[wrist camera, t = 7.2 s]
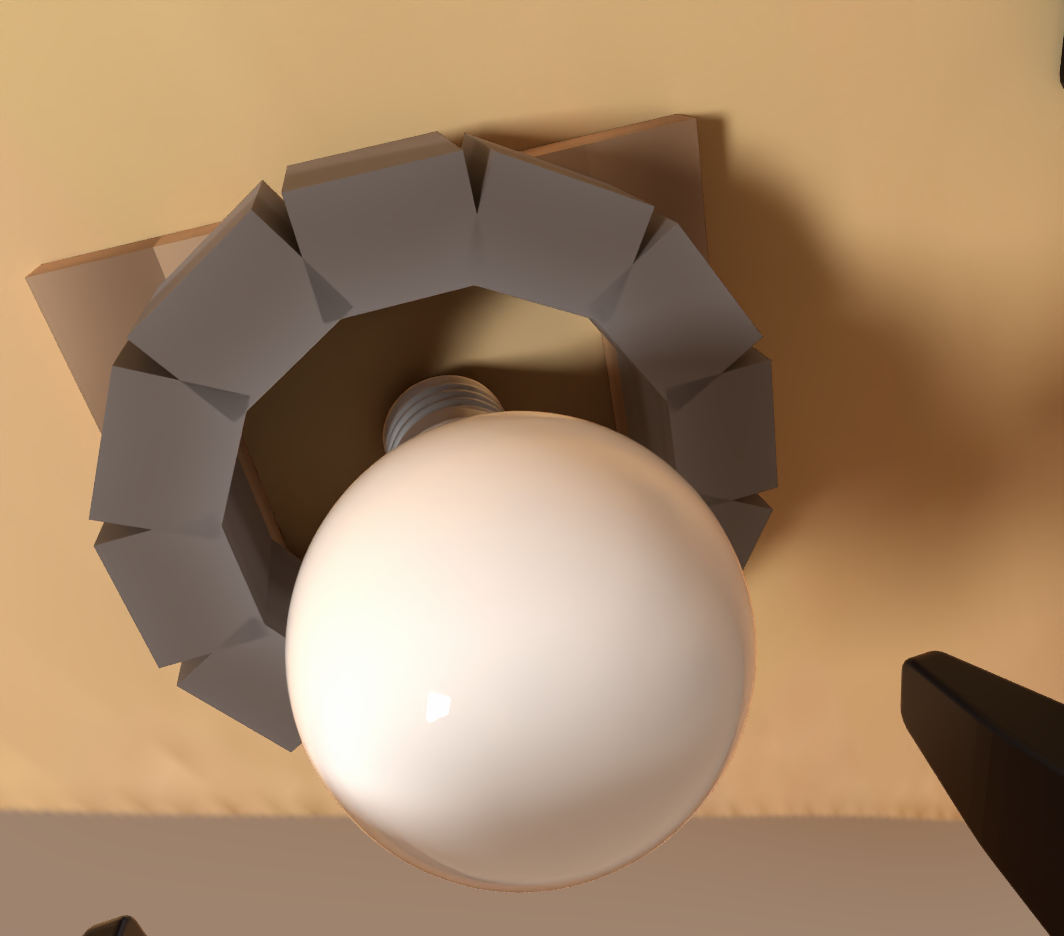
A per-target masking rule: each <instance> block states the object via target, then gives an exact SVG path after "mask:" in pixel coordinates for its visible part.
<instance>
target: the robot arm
mask: <svg viewBox="0 0 1064 936" xmlns="http://www.w3.org/2000/svg"><path fill="white" fill-rule="evenodd" d="M1060 83H1061V84H1062V86H1063V88H1064V38H1063V47H1062V56H1061V66H1060ZM901 714H902V718H903V721H904V724H905V726H906V728H907V730H908V731H909V733H910V735H911V736H912V738H913V739H914V741H915V743H916V744H917V746H918V747H919V749H920V751H921V752H922V754H923V755H924V757H925V759H926V760H927V762H928V763H929V765H930V767H931V768H932V770H933V771H934V773H935V775H936V776H937V778H938V779H939V781H940V782H941V784H942V786H943V787H944V789H945V790H946V792H947V794H948V795H949V797H950V798H951V800H952V802H953V803H954V805H955V806H956V808H957V810H958V811H959V813H960V814H961V816H962V818H963V819H964V821H965V822H966V824H967V826H968V827H969V829H970V830H971V832H972V833H973V835H974V836H975V838H976V839H977V841H978V842H979V844H980V845H981V846H982V848H983V849H984V851H985V852H986V853H987V855H988V856H989V857H990V859H991V860H992V861H993V863H994V864H995V865H996V867H997V868H998V869H999V870H1000V872H1001V873H1002V874H1003V876H1004V877H1005V878H1006V879H1007V881H1008V882H1009V883H1010V885H1011V886H1012V887H1013V889H1014V890H1015V891H1016V892H1017V894H1018V895H1019V896H1020V898H1021V899H1022V900H1023V902H1024V903H1025V904H1026V905H1027V906H1028V908H1029V909H1030V911H1031V912H1032V913H1033V914H1034V916H1035V917H1036V918H1037V920H1038V921H1039V922H1040V923H1041V925H1042V926H1043V927H1044V929H1045V930H1046V931H1047V932H1048V933H1049V935H1050V936H1064V704H1063V703H1060V702H1058V701H1056V700H1053V699H1051V698H1049V697H1046V696H1044V695H1042V694H1039V693H1037V692H1035V691H1032V690H1030V689H1028V688H1025V687H1023V686H1021V685H1018V684H1016V683H1014V682H1012V681H1009V680H1007V679H1005V678H1002V677H1000V676H998V675H995V674H993V673H991V672H988V671H986V670H984V669H981V668H979V667H977V666H974V665H972V664H970V663H967V662H965V661H963V660H960V659H958V658H956V657H954V656H951V655H949V654H947V653H944V652H940V651H930V652H927V653H924V654H921V655H918V656H915V657H911V658H909V659H907V660H905V662H904V664H903V665H902V677H901ZM82 936H147V935H146V934H145V933H144V931H143V930H142V928H141V927H140V925H139V924H138V922H137V921H136V920H135V919H134V918H133V917H131V916H128V915H125V916H120V917H117V918H114V919H111V920H108V921H105V922H102V923H99V924H96V925H94V926H92V927H91V928H89V929H88V930H87V931H86V932H85V933H84V934H83V935H82Z"/></svg>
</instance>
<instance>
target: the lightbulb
mask: <svg viewBox="0 0 1064 936" xmlns="http://www.w3.org/2000/svg"><path fill="white" fill-rule="evenodd" d="M383 444H384V450H385V455H384V456H383V457H381V458H380V459H379V460H377V461H376V462H375V463H374V464H372V465H371V466H370V467H369V468H368V469H367V470H366V471H364V472H363V473H362V474H361V475H360V476H359V477H358V478H357V479H356V480H355V481H354V482H353V483H352V484H351V485H350V486H349V487H348V489H347V490H346V491H345V492H344V493H343V494H342V495H341V497H340V498H339V499H338V500H337V502H336V503H335V504H334V506H333V507H332V508H331V510H330V511H329V512H328V514H327V515H326V517H325V519H324V520H323V522H322V523H321V525H320V527H319V528H318V530H317V532H316V534H315V535H314V537H313V539H312V541H311V543H310V545H309V547H308V549H307V552H306V554H305V556H304V558H303V561H302V564H301V566H300V569H299V572H298V575H297V578H296V581H295V584H294V588H293V592H292V596H291V600H290V606H289V611H288V617H287V625H286V637H285V670H286V681H287V688H288V695H289V700H290V705H291V709H292V713H293V717H294V720H295V724H296V727H297V730H298V733H299V736H300V738H301V741H302V743H303V746H304V748H305V751H306V753H307V755H308V757H309V759H310V761H311V763H312V765H313V767H314V769H315V771H316V772H317V774H318V776H319V778H320V779H321V781H322V782H323V784H324V786H325V787H326V789H327V790H328V791H329V793H330V794H331V796H332V797H333V798H334V800H335V801H336V802H337V804H338V805H339V806H340V807H341V808H342V810H343V811H344V812H345V813H346V814H347V815H348V817H349V818H350V819H351V820H352V821H353V822H354V823H355V824H356V825H357V826H358V827H359V828H360V829H361V830H362V831H363V832H365V833H366V834H367V835H368V836H369V837H370V838H372V839H373V840H374V841H375V842H376V843H378V844H379V845H380V846H382V847H383V848H385V849H386V850H387V851H389V852H390V853H391V854H393V855H395V856H396V857H398V858H399V859H401V860H403V861H405V862H406V863H408V864H410V865H412V866H414V867H415V868H417V869H419V870H422V871H424V872H426V873H428V874H431V875H433V876H435V877H438V878H441V879H444V880H447V881H450V882H453V883H456V884H460V885H464V886H467V887H472V888H477V889H483V890H490V891H498V892H516V893H520V892H522V893H523V892H541V891H550V890H557V889H563V888H567V887H572V886H576V885H580V884H584V883H587V882H590V881H593V880H596V879H599V878H602V877H604V876H607V875H609V874H612V873H614V872H616V871H618V870H620V869H623V868H624V867H626V866H628V865H630V864H632V863H634V862H636V861H637V860H639V859H641V858H642V857H644V856H645V855H647V854H648V853H650V852H652V851H653V850H655V849H656V848H657V847H659V846H660V845H661V844H663V843H664V842H665V841H666V840H668V839H669V838H670V837H671V836H672V835H673V834H675V833H676V832H677V831H678V830H679V829H680V828H681V827H682V826H683V825H684V824H685V823H686V822H687V821H688V820H689V819H690V818H691V817H692V816H693V815H694V814H695V813H696V812H697V810H698V809H699V808H700V807H701V806H702V804H703V803H704V802H705V801H706V799H707V798H708V797H709V795H710V794H711V792H712V791H713V790H714V788H715V787H716V785H717V784H718V782H719V780H720V779H721V777H722V776H723V774H724V772H725V770H726V768H727V767H728V765H729V763H730V761H731V759H732V757H733V755H734V752H735V750H736V748H737V746H738V743H739V741H740V738H741V735H742V732H743V730H744V727H745V723H746V720H747V717H748V713H749V709H750V705H751V700H752V695H753V689H754V682H755V672H756V630H755V621H754V614H753V608H752V603H751V599H750V594H749V590H748V586H747V583H746V580H745V577H744V574H743V571H742V568H741V565H740V563H739V560H738V558H737V555H736V553H735V551H734V548H733V546H732V544H731V542H730V540H729V538H728V536H727V534H726V533H725V531H724V529H723V527H722V526H721V524H720V522H719V521H718V519H717V518H716V516H715V515H714V513H713V512H712V510H711V509H710V507H709V506H708V505H707V503H706V502H705V501H704V500H703V498H702V497H701V496H700V495H699V493H698V492H697V491H696V490H695V489H694V488H693V487H692V486H691V484H690V483H689V482H688V481H687V480H686V479H685V478H684V477H683V476H682V475H681V474H680V473H678V472H677V471H676V470H675V469H674V468H673V467H672V466H670V465H669V464H668V463H667V462H666V461H664V460H663V459H662V458H660V457H659V456H658V455H656V454H655V453H654V452H652V451H651V450H649V449H648V448H646V447H644V446H643V445H641V444H639V443H638V442H636V441H635V440H633V439H631V438H629V437H627V436H625V435H623V434H621V433H619V432H617V431H614V430H612V429H610V428H607V427H605V426H602V425H599V424H597V423H594V422H591V421H588V420H584V419H581V418H577V417H572V416H568V415H563V414H557V413H550V412H540V411H505V410H504V408H503V407H502V405H501V404H500V402H499V400H498V399H497V398H496V396H495V395H494V394H493V393H492V392H491V391H490V390H489V389H488V388H486V387H485V386H484V385H482V384H481V383H479V382H477V381H475V380H472V379H469V378H466V377H462V376H455V375H443V376H436V377H432V378H428V379H425V380H423V381H421V382H418V383H416V384H415V385H413V386H411V387H410V388H408V389H407V390H406V391H405V392H403V393H402V394H401V395H400V396H399V398H398V399H397V400H396V401H395V403H394V404H393V405H392V407H391V409H390V410H389V413H388V415H387V417H386V420H385V424H384V429H383Z"/></svg>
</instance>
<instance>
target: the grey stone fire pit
mask: <svg viewBox="0 0 1064 936" xmlns="http://www.w3.org/2000/svg"><path fill="white" fill-rule="evenodd" d="M281 193H282V196H283V199H284V200H283V199H282V198H281V197H280V196H279V195H278V194H277V193H276V192H274V191H273V190H272V189H271V188H270V187H269V186H268V185H267V184H266V183H265V182H264V181H263V180H262V181H261V182H260V183H259V184H258V185H257V186H256V187H255V188H254V189H253V190H252V191H251V192H250V193H249V194H248V195H247V196H246V197H245V198H244V199H243V200H242V201H241V202H240V204H239V205H238V206H237V207H236V208H235V209H234V210H233V211H232V212H231V213H230V214H229V215H228V216H227V217H226V218H225V219H224V220H223V221H222V222H219V223H214V224H210V225H206V226H202V227H197V228H193V229H189V230H185V231H181V232H176V233H172V234H168V235H164V236H159V237H155V238H151V239H147V240H143V241H138V242H134V243H130V244H126V245H121V246H117V247H113V248H109V249H105V250H100V251H96V252H92V253H88V254H84V255H79V256H75V257H71V258H67V259H62V260H58V261H54V262H50V263H46V264H41V265H40V266H39V267H38V268H36V269H35V270H34V271H33V272H31V273H30V274H29V275H28V276H26V277H25V279H26V281H27V283H28V285H29V287H30V289H31V291H32V293H33V296H34V298H35V300H36V302H37V304H38V306H39V308H40V310H41V312H42V314H43V316H44V318H45V320H46V322H47V324H48V326H49V328H50V330H51V332H52V334H53V336H54V338H55V340H56V342H57V344H58V346H59V349H60V351H61V353H62V355H63V357H64V359H65V361H66V363H67V365H68V367H69V369H70V371H71V373H72V375H73V377H74V379H75V381H76V383H77V385H78V387H79V389H80V391H81V393H82V395H83V397H84V399H85V402H86V404H87V406H88V408H89V410H90V412H91V414H92V416H93V418H94V420H95V422H96V424H97V426H98V428H99V430H100V432H101V434H102V436H101V443H100V449H99V456H98V463H97V469H96V476H95V482H94V489H93V496H92V502H91V509H90V516H89V520H95V521H101V522H104V524H103V526H102V528H101V531H100V533H99V535H98V537H97V540H96V542H95V544H94V547H95V549H96V551H97V553H98V555H99V557H100V559H101V560H102V562H103V564H104V566H105V568H106V570H107V572H108V574H109V575H110V577H111V579H112V581H113V583H114V585H115V587H116V588H117V590H118V592H119V594H120V596H121V598H122V600H123V602H124V603H125V605H126V607H127V609H128V611H129V613H130V615H131V617H132V618H133V620H134V622H135V624H136V626H137V628H138V630H139V632H140V633H141V635H142V637H143V639H144V641H145V643H146V645H147V647H148V648H149V650H150V652H151V654H152V656H153V658H154V660H155V661H156V663H157V665H158V667H159V668H162V667H165V666H168V665H172V664H175V663H179V662H182V663H181V668H180V673H179V677H178V682H177V686H178V687H180V688H181V689H183V690H185V691H187V692H188V693H190V694H192V695H193V696H195V697H197V698H199V699H200V700H202V701H204V702H205V703H207V704H209V705H211V706H212V707H214V708H216V709H218V710H219V711H221V712H223V713H224V714H226V715H228V716H230V717H231V718H233V719H235V720H236V721H238V722H240V723H242V724H243V725H245V726H247V727H248V728H250V729H252V730H254V731H255V732H257V733H259V734H260V735H262V736H264V737H266V738H267V739H269V740H271V741H273V742H274V743H276V744H278V745H279V746H281V747H283V748H285V749H286V750H288V751H290V752H292V751H293V750H294V749H296V748H297V747H298V746H299V745H300V744H301V743H302V741H301V738H300V736H299V733H298V730H297V727H296V724H295V720H294V717H293V713H292V709H291V705H290V700H289V695H288V688H287V681H286V670H285V637H286V625H287V617H288V611H289V606H290V600H291V596H292V592H293V588H294V584H295V581H296V578H297V575H298V572H299V569H300V566H301V564H302V560H300V559H299V558H297V557H296V556H295V555H293V554H292V553H291V552H289V551H288V550H287V547H286V545H285V542H284V540H283V537H282V535H281V532H280V530H279V527H278V525H277V522H276V520H275V517H274V515H273V512H272V510H271V507H270V505H269V502H268V500H267V497H266V495H265V492H264V490H263V487H262V485H261V482H260V480H259V477H258V475H257V472H256V470H255V467H254V465H253V462H252V460H251V457H250V455H249V452H248V450H247V447H246V445H245V442H244V440H243V437H242V435H241V434H242V430H243V425H244V421H245V416H246V411H248V410H249V409H250V408H251V407H252V406H253V405H254V404H255V403H256V402H257V401H258V400H259V399H260V398H261V397H262V396H263V395H264V394H265V393H266V392H267V391H268V390H269V389H270V388H271V387H272V386H273V385H274V384H275V383H276V382H277V381H278V380H279V379H280V378H281V377H282V376H283V375H284V374H285V373H286V372H287V371H288V370H290V369H291V368H292V367H293V366H294V365H295V364H296V363H297V362H298V361H299V360H300V359H301V358H302V357H303V356H304V355H305V354H306V353H307V352H308V351H309V350H310V349H311V348H312V347H313V346H314V345H315V344H316V343H317V342H318V341H319V340H320V339H321V338H322V337H323V336H324V335H325V334H326V333H327V332H328V331H329V330H330V329H332V328H333V327H334V326H335V325H336V324H337V323H338V322H339V321H340V320H341V319H343V318H347V317H351V316H355V315H359V314H363V313H367V312H371V311H375V310H379V309H383V308H387V307H391V306H395V305H399V304H402V303H406V302H410V301H414V300H418V299H422V298H426V297H430V296H434V295H438V294H442V293H446V292H450V291H454V290H458V289H462V288H466V287H469V286H473V285H475V286H478V287H482V288H485V289H489V290H493V291H496V292H500V293H503V294H507V295H510V296H514V297H517V298H521V299H524V300H528V301H531V302H535V303H538V304H542V305H545V306H549V307H552V308H556V309H559V310H563V311H566V312H570V313H573V314H577V315H580V316H584V317H587V318H589V319H590V320H591V322H592V323H593V324H594V325H595V326H596V327H597V328H598V330H599V331H600V332H601V333H602V339H603V345H604V352H605V358H606V364H607V371H608V377H609V384H610V390H611V397H612V403H613V409H614V416H615V422H616V429H617V432H619V433H621V434H623V435H625V436H627V437H629V438H631V439H633V440H635V441H636V442H638V443H639V444H641V445H643V446H644V447H646V448H648V449H649V450H651V451H652V452H654V453H655V454H656V455H658V456H659V457H660V458H662V459H663V460H664V461H666V462H667V463H668V464H669V465H670V466H672V467H673V468H674V469H675V470H676V471H677V472H678V473H680V474H681V475H682V476H683V477H684V478H685V479H686V480H687V481H688V482H689V483H690V484H691V486H692V487H693V488H694V489H695V490H696V491H697V492H698V493H699V495H700V496H701V497H702V498H703V500H704V501H705V502H706V503H707V505H708V506H709V507H710V509H711V510H712V512H713V513H714V515H715V516H716V518H717V519H718V521H719V522H720V524H721V526H722V527H723V529H724V531H725V533H726V534H727V536H728V538H729V540H730V542H731V544H732V546H733V548H734V551H735V553H736V555H737V558H738V560H739V563H740V565H741V568H742V571H743V569H744V567H745V565H746V563H747V561H748V559H749V557H750V555H751V553H752V551H753V549H754V547H755V545H756V543H757V541H758V539H759V537H760V534H761V532H762V530H763V528H764V526H765V524H766V522H767V520H768V518H769V516H770V514H771V512H772V510H773V509H772V508H771V507H770V506H769V505H768V504H767V503H766V502H765V501H764V500H763V499H762V498H761V497H760V496H759V495H758V494H757V493H759V492H763V491H766V490H769V489H773V488H776V487H778V484H777V465H776V446H775V428H774V409H773V390H772V372H771V360H770V359H769V358H767V357H766V356H765V355H763V354H762V353H760V352H759V351H757V350H756V349H754V348H753V347H752V346H753V345H754V344H755V343H756V342H757V341H759V340H760V339H761V338H762V337H763V336H762V335H761V334H760V332H759V331H758V330H757V328H756V327H755V326H754V324H753V323H752V322H751V320H750V319H749V318H748V316H747V315H746V314H745V312H744V311H743V310H742V308H741V307H740V306H739V304H738V303H737V302H736V300H735V299H734V298H733V296H732V295H731V294H730V292H729V291H728V290H727V288H726V287H725V286H724V284H723V283H722V282H721V280H720V279H719V278H718V276H717V275H716V274H715V272H714V271H713V270H712V268H711V267H710V266H709V260H708V249H707V237H706V226H705V214H704V203H703V191H702V180H701V168H700V157H699V145H698V134H697V122H696V118H694V117H689V116H684V115H679V114H674V115H670V116H666V117H662V118H658V119H653V120H649V121H645V122H641V123H636V124H632V125H628V126H624V127H620V128H615V129H611V130H607V131H603V132H598V133H594V134H590V135H586V136H582V137H577V138H573V139H569V140H565V141H560V142H556V143H552V144H548V145H544V146H539V147H535V148H531V149H527V150H523V151H516V150H513V149H510V148H507V147H505V146H502V145H499V144H496V143H493V142H490V141H487V140H484V139H481V138H479V137H476V136H473V135H470V134H467V133H465V134H464V138H463V141H462V145H461V148H459V147H458V146H457V145H455V144H454V143H453V142H451V141H450V140H448V139H447V138H446V137H444V136H443V135H442V134H440V133H439V132H438V131H436V132H432V133H427V134H423V135H419V136H414V137H410V138H406V139H401V140H397V141H393V142H389V143H384V144H380V145H376V146H371V147H367V148H363V149H358V150H354V151H350V152H345V153H341V154H337V155H332V156H328V157H324V158H319V159H315V160H311V161H306V162H302V163H298V164H294V165H289V166H287V170H286V174H285V179H284V183H283V188H282V192H281Z"/></svg>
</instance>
